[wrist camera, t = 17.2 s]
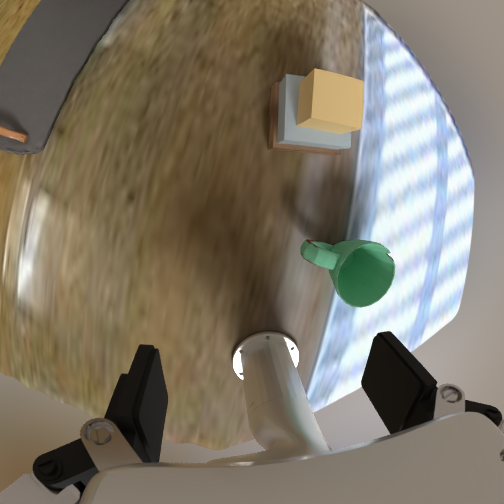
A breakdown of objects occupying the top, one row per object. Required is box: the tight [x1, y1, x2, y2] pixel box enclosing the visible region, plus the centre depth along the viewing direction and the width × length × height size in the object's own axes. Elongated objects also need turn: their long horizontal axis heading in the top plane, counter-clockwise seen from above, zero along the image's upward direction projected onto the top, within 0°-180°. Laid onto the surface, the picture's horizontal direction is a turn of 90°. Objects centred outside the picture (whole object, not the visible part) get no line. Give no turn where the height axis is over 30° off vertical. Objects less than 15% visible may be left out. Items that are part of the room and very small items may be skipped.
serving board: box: [0, 0, 129, 155], centre depth 28 cm, size 39×23×6 cm, turn 152°
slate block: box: [277, 74, 351, 150], centre depth 34 cm, size 9×9×4 cm
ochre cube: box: [296, 68, 364, 134], centre depth 29 cm, size 6×6×6 cm
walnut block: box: [268, 81, 340, 155], centre depth 39 cm, size 10×10×4 cm
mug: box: [301, 239, 395, 307], centre depth 42 cm, size 15×10×10 cm
